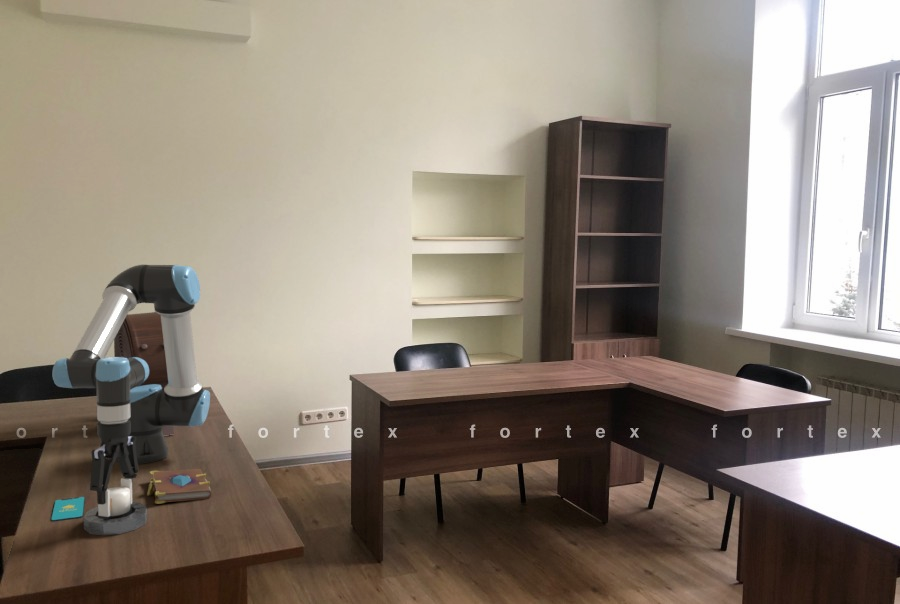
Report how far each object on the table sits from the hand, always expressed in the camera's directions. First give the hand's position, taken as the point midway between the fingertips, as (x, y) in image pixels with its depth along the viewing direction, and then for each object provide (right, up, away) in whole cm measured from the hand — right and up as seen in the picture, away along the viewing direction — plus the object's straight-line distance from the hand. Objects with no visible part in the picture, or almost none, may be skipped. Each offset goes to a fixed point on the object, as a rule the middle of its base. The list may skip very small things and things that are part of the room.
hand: (115, 509), depth 181 cm
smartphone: (-17, -3, +9) cm, 19 cm away
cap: (0, 0, 0) cm, 0 cm away
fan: (-29, +5, +89) cm, 94 cm away
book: (+5, -2, +26) cm, 27 cm away
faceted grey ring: (0, -4, 0) cm, 4 cm away
